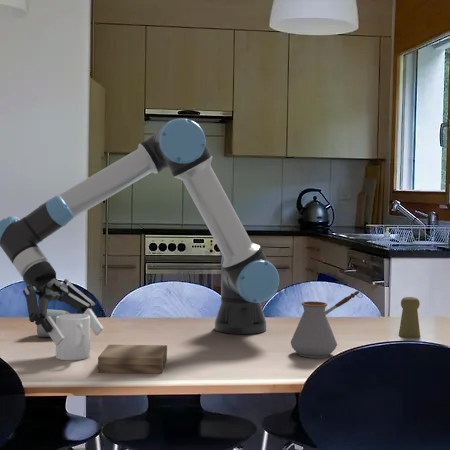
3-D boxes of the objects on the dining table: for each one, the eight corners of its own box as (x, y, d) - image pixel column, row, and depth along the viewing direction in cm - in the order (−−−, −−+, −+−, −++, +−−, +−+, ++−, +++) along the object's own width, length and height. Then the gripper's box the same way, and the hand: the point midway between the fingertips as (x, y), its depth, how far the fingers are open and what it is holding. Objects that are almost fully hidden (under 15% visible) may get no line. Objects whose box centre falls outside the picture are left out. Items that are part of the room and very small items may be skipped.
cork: (422, 334, 199) (422, 296, 199) (418, 338, 194) (419, 299, 194) (400, 332, 202) (401, 295, 202) (396, 336, 197) (397, 297, 196)
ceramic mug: (67, 339, 189) (67, 310, 189) (36, 339, 188) (36, 310, 188) (71, 332, 199) (72, 305, 199) (42, 332, 199) (42, 305, 198)
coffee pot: (310, 362, 166) (311, 299, 165) (281, 352, 175) (281, 293, 175) (375, 351, 177) (376, 293, 176) (344, 343, 187) (345, 287, 186)
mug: (66, 365, 160) (66, 323, 159) (51, 355, 170) (51, 315, 170) (100, 361, 164) (100, 320, 163) (83, 351, 174) (83, 312, 174)
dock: (167, 359, 166) (167, 345, 166) (161, 373, 153) (161, 358, 153) (108, 359, 166) (108, 344, 166) (98, 373, 153) (98, 357, 153)
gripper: (63, 275, 185) (106, 337, 178) (-13, 284, 163) (33, 356, 156) (78, 256, 182) (123, 318, 175) (3, 263, 161) (51, 335, 154)
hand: (81, 336), depth 166 cm, fingers open, 13 cm apart
